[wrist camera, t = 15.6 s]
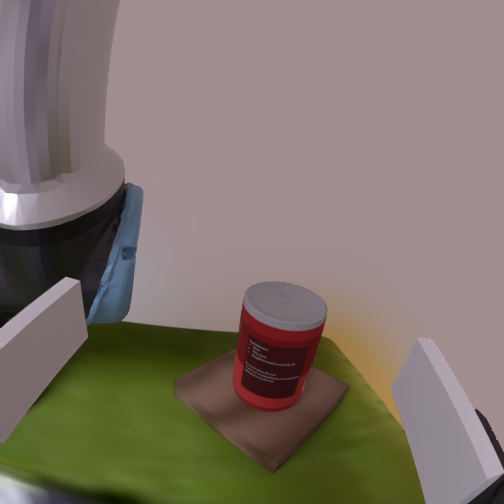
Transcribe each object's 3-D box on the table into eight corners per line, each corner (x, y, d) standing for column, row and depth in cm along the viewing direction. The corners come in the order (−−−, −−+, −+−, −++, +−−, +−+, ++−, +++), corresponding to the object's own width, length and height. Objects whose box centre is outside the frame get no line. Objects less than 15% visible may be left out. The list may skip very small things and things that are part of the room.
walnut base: (174, 394, 30) (174, 379, 30) (255, 349, 41) (257, 335, 40) (273, 473, 22) (278, 461, 21) (342, 399, 33) (349, 385, 32)
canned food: (278, 358, 36) (296, 277, 32) (315, 401, 29) (346, 315, 25) (220, 370, 32) (229, 283, 29) (251, 422, 26) (271, 331, 22)
